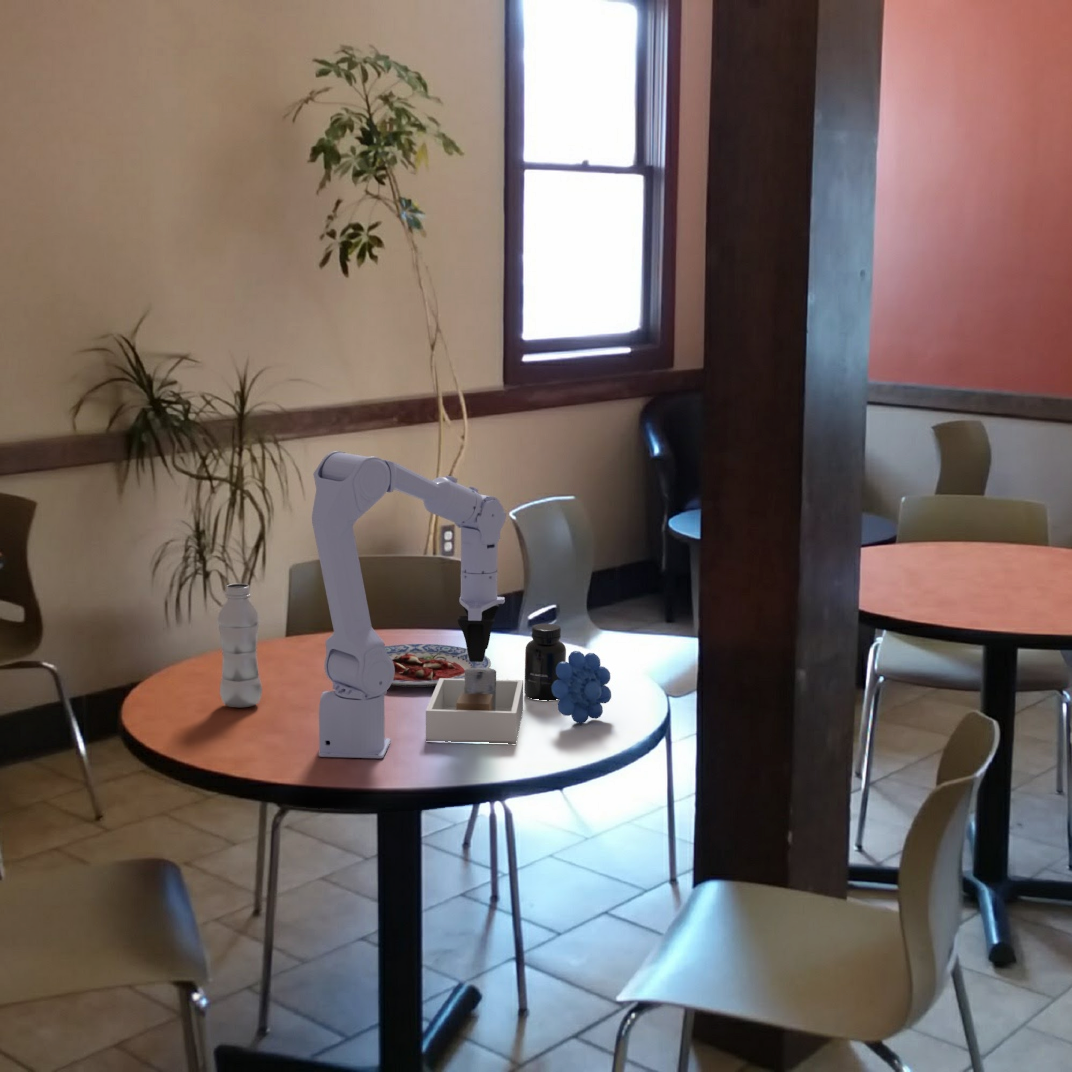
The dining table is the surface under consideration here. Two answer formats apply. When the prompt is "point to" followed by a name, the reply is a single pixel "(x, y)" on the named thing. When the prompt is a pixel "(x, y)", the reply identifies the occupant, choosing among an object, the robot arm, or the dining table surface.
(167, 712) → the dining table surface
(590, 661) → the blue knobbed flower shape
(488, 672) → the grey metal cylinder
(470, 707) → the walnut cube
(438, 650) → the ceramic plate
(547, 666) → the supplement bottle
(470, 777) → the dining table surface
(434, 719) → the box
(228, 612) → the plastic bottle
